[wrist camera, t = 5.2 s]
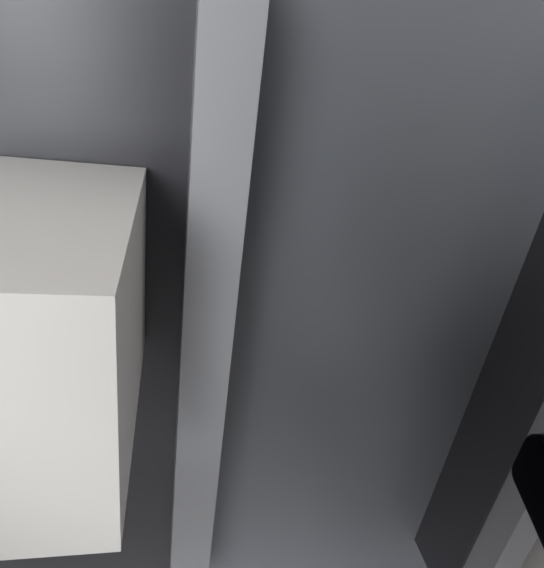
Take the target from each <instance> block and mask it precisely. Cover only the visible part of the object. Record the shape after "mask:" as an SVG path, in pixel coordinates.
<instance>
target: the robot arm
mask: <svg viewBox="0 0 544 568" xmlns="http://www.w3.org/2000/svg"><path fill="white" fill-rule="evenodd" d="M511 472H512V478H513V481H514V483H515V485H516V487H517V490H518V492H519V494H520V496H521V499H522V501H523V503H524V505H525V508H526V510H527V512H528V515H529V517H530V519H531V521H532V524H533V526H534V528H535V530H536V533H537V535H538V537H539V539H540V542H541V544H542V546H543V548H544V433H543V434H530V435H528V436H527V437H526V438H525V439H524V441H523V443H522V445H521V447H520V449H519V452H518V454H517V456H516V458H515V460H514V462H513V464H512V469H511Z"/></svg>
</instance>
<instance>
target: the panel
mask: <svg viewBox="0 0 544 568" xmlns="http://www.w3.org/2000/svg"><path fill="white" fill-rule="evenodd" d="M0 156H8V157H20V158H32V159H44V160H57V161H69V162H81V163H93V164H106V165H118V166H130V167H143V168H146V254H145V344H144V353H143V362H142V370H141V379H140V388H139V397H138V406H137V414H136V423H135V432H134V441H133V450H132V458H131V467H130V476H129V485H128V494H127V502H126V511H125V520H124V529H123V538H122V547H121V552H110V553H96V554H83V555H69V556H56V557H43V558H29V559H16V560H2V561H0V568H521V566H522V564H523V563H524V561H525V559H526V557H527V556H528V554H529V552H530V550H531V549H532V547H533V545H534V543H535V542H536V540H537V538H538V535H537V533H536V530H535V528H534V526H533V524H532V521H531V519H530V517H529V515H528V512H527V510H526V508H525V505H524V503H523V501H522V499H521V496H520V494H519V492H518V490H517V487H516V485H515V483H514V481H513V478H512V472H511V469H512V464H513V462H514V460H515V458H516V456H517V454H518V452H519V449H520V447H521V445H522V443H523V441H524V439H525V438H526V437H527V436H528V435H530V434H543V433H544V0H0Z"/></svg>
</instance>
